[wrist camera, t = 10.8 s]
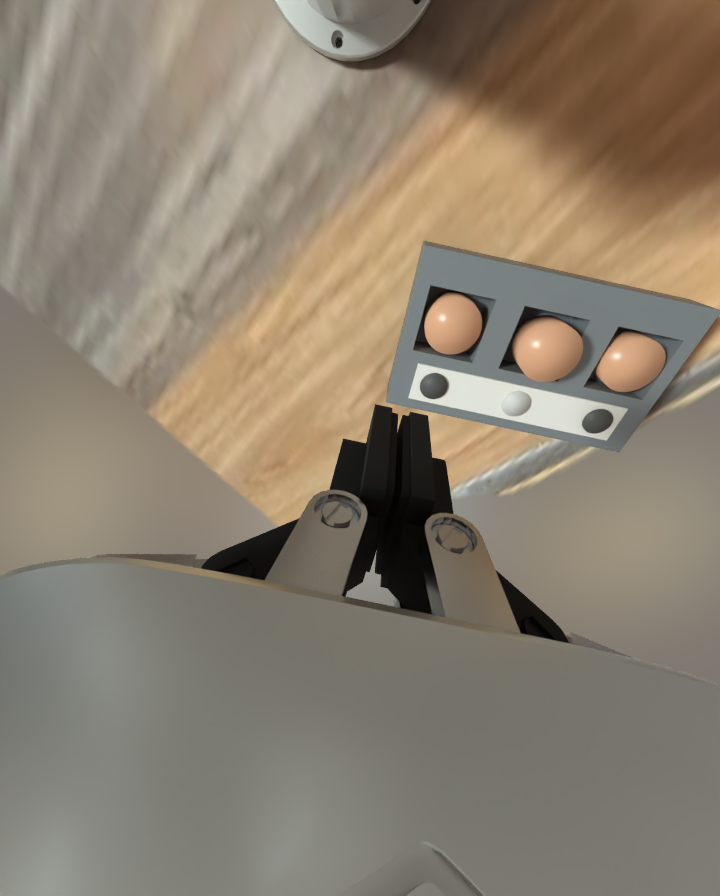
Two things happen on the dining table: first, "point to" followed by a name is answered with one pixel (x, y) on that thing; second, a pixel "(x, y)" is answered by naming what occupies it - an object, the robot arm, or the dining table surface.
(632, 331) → the button
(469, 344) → the button
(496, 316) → the button board
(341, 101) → the dining table surface
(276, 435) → the dining table surface
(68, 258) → the dining table surface
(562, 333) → the button
